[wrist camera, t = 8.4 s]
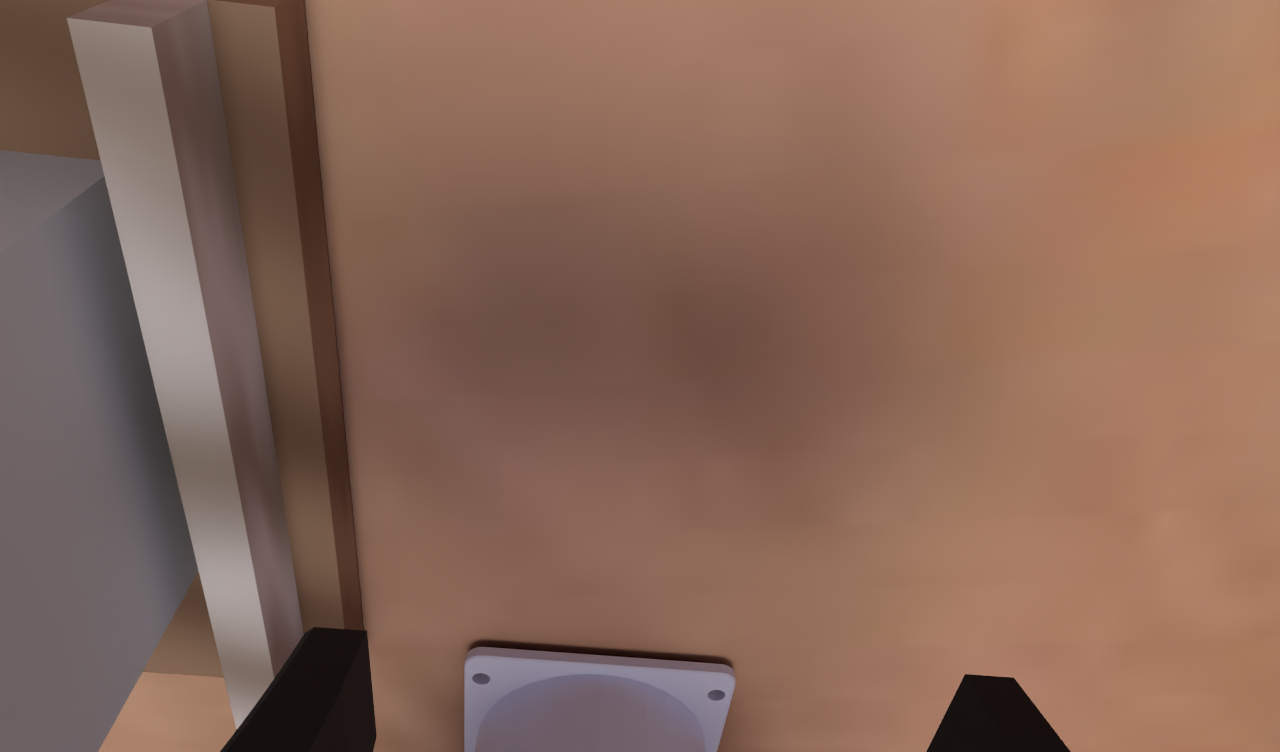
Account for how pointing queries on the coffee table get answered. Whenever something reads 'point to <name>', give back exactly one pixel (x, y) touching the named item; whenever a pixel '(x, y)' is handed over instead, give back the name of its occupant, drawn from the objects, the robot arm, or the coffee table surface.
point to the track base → (214, 295)
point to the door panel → (77, 466)
